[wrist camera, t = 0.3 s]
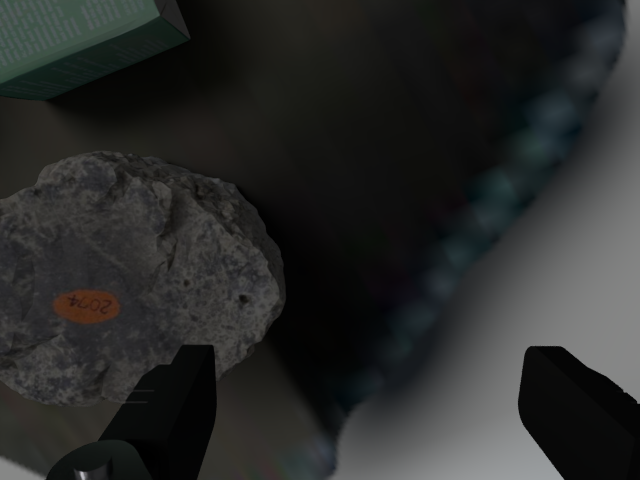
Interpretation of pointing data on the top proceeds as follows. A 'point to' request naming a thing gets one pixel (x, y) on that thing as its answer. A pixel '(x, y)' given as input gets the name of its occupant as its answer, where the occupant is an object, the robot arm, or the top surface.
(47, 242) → the petrified wood
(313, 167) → the top surface
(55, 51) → the box
